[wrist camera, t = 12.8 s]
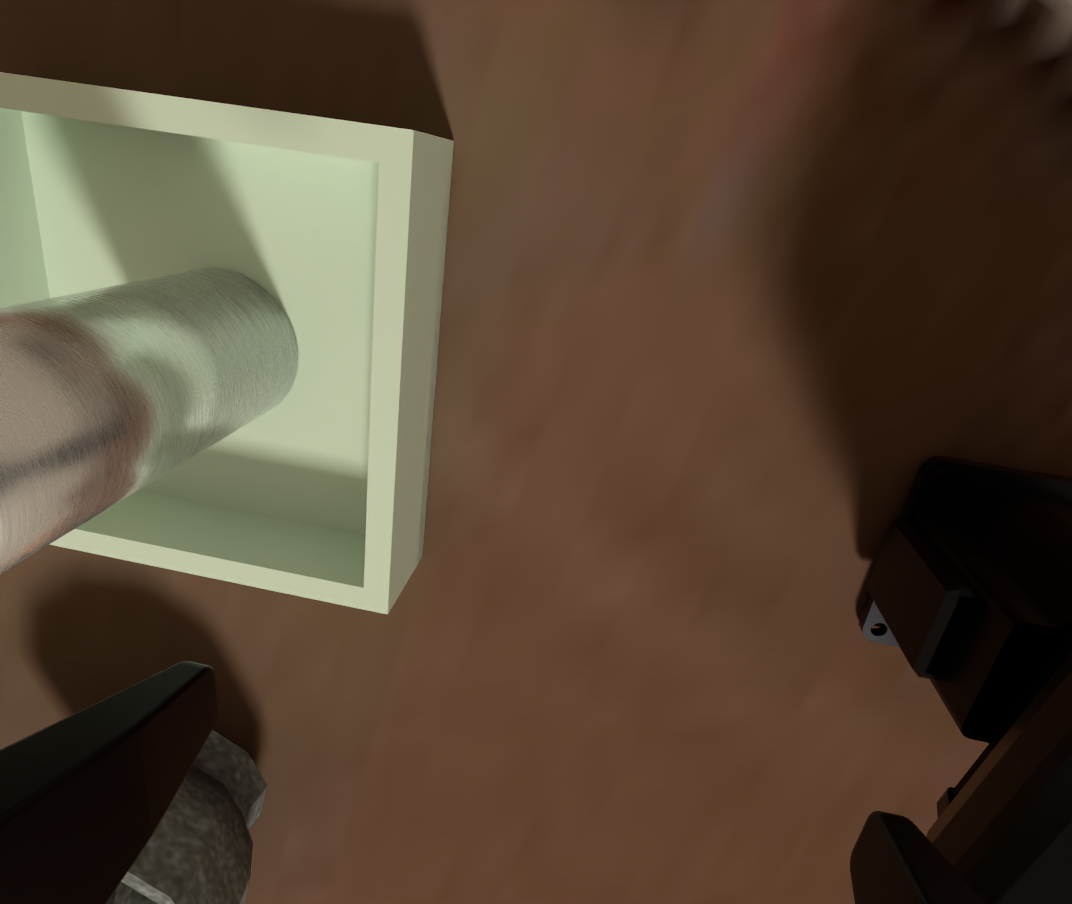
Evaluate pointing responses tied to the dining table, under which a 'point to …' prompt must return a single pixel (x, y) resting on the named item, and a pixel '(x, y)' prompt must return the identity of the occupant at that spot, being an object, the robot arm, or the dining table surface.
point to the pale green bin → (296, 285)
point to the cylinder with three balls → (127, 392)
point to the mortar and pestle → (201, 834)
